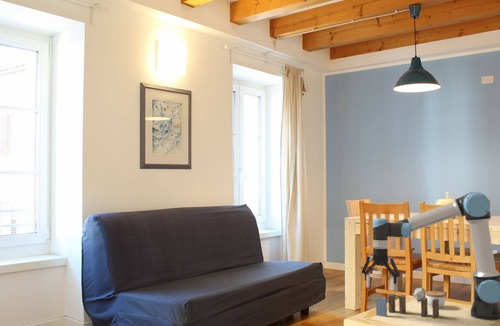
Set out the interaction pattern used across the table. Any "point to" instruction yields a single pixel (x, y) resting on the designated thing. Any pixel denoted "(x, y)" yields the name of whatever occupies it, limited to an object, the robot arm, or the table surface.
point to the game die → (419, 293)
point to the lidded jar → (435, 297)
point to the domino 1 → (381, 307)
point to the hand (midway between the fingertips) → (380, 288)
